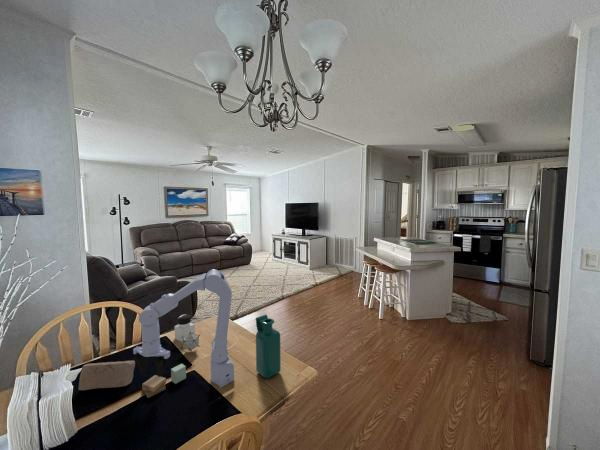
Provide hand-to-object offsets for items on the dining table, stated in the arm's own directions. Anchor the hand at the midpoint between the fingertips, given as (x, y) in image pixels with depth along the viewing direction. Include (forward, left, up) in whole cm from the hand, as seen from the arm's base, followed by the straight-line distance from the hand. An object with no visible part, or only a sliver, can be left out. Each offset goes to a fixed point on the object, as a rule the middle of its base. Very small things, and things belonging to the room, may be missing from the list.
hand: (152, 373), depth 97 cm
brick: (+15, +11, -7) cm, 20 cm away
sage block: (-1, -9, -6) cm, 11 cm away
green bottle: (-22, -37, -7) cm, 44 cm away
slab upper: (0, 0, -5) cm, 5 cm away
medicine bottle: (+30, -24, -7) cm, 39 cm away
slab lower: (0, 0, -7) cm, 7 cm away
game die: (+15, -21, -7) cm, 27 cm away
